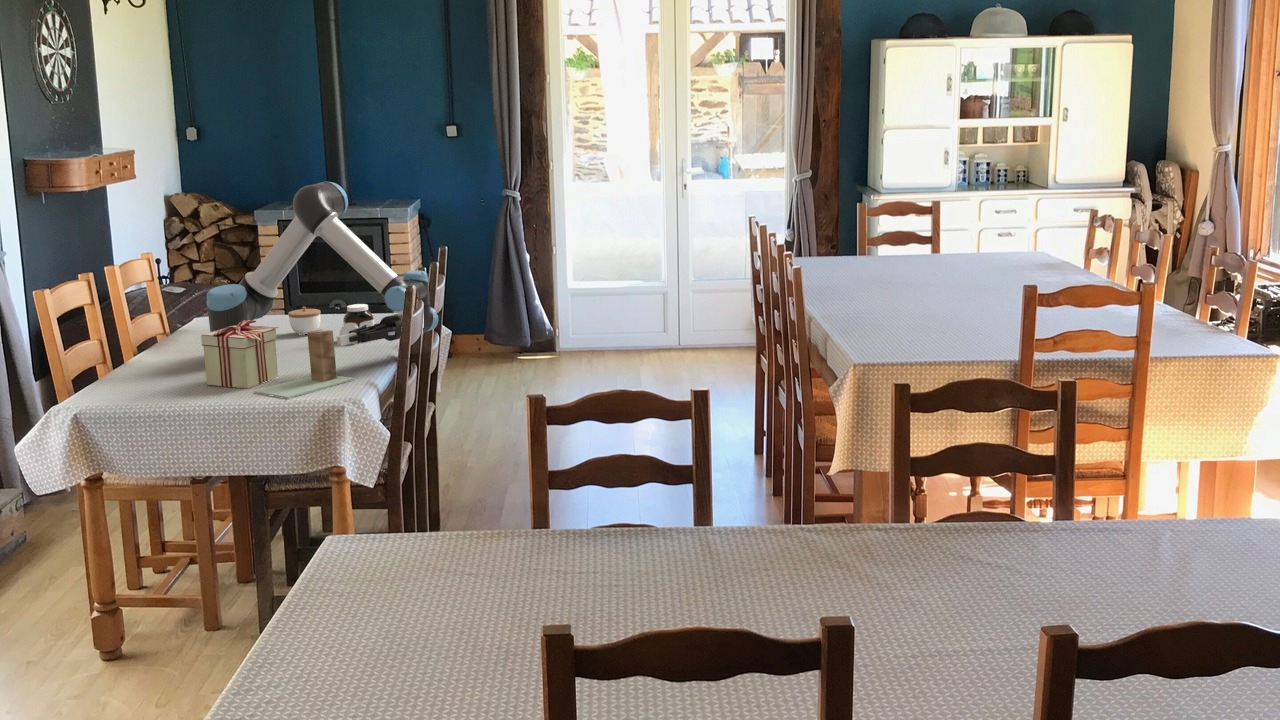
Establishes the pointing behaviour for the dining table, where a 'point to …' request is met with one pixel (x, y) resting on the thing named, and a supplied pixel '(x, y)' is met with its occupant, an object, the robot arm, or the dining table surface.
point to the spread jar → (356, 318)
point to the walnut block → (322, 355)
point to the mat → (301, 386)
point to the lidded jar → (304, 320)
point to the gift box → (240, 355)
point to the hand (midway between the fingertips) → (338, 341)
